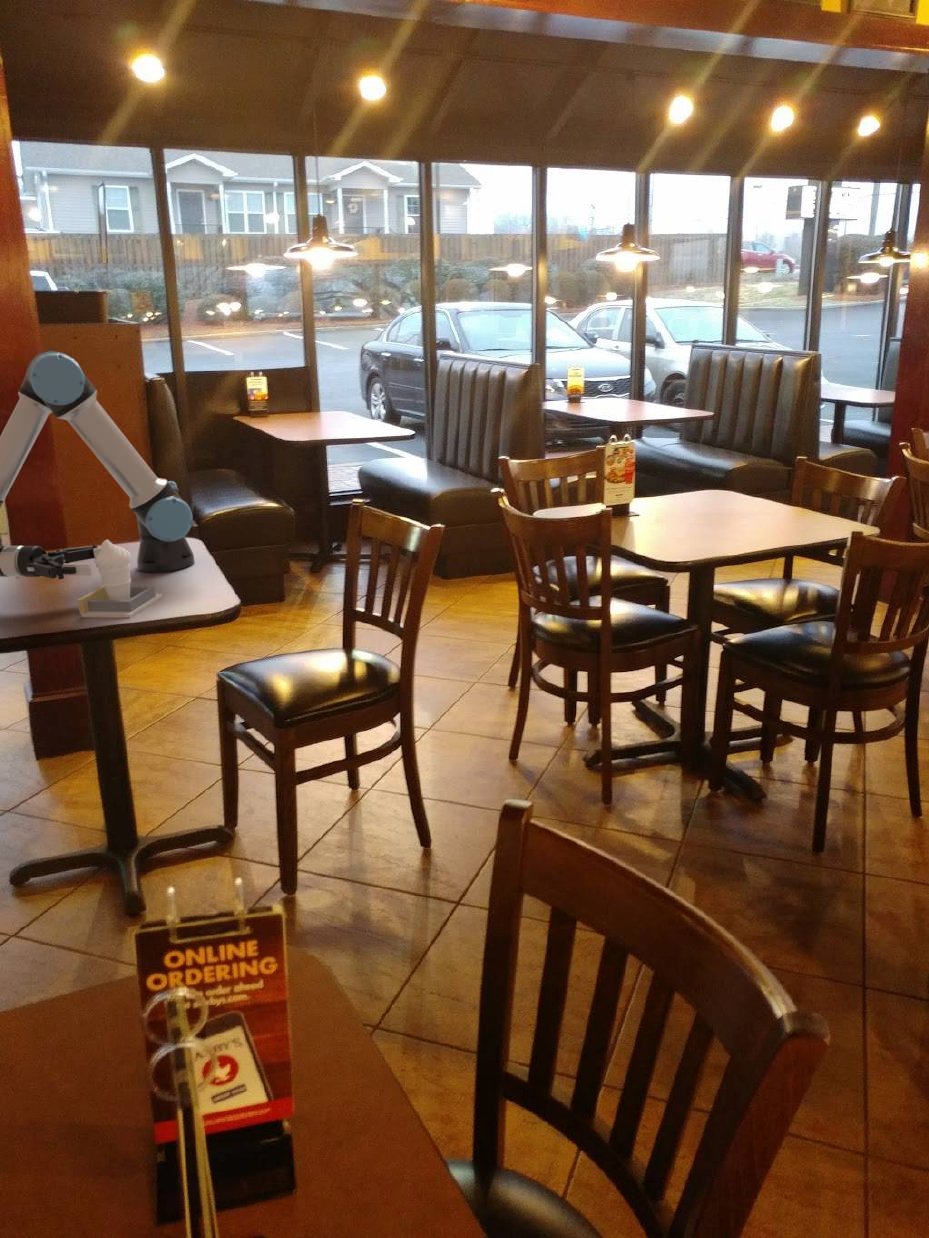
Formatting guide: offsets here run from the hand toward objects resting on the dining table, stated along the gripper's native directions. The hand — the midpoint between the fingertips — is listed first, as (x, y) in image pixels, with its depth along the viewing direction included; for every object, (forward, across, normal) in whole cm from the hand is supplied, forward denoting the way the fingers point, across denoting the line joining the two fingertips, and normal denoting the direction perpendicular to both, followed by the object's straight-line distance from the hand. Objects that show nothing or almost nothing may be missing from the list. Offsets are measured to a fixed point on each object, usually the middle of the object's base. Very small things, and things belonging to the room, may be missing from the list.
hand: (105, 561), depth 243 cm
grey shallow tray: (+2, 0, -12) cm, 12 cm away
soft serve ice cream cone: (+2, 0, -11) cm, 11 cm away
